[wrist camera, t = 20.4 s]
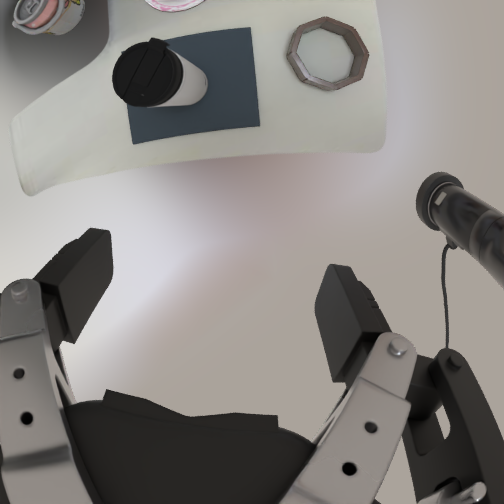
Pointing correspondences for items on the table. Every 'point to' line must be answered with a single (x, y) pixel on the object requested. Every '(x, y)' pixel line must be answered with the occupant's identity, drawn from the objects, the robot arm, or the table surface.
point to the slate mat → (218, 93)
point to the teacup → (173, 4)
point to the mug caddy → (353, 42)
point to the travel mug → (157, 77)
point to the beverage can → (48, 16)
